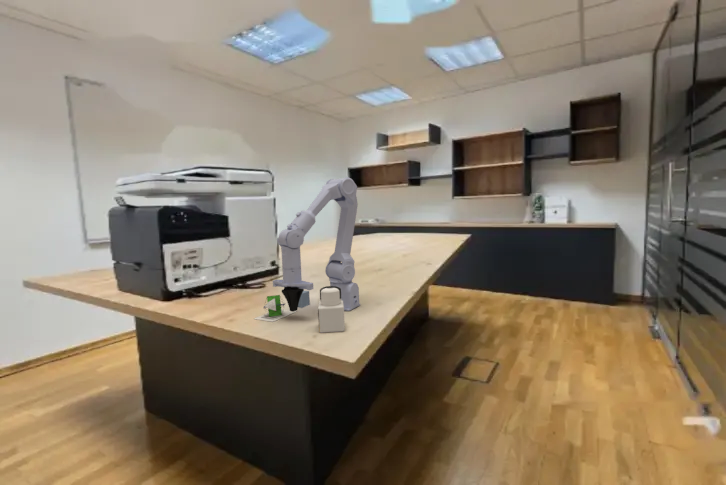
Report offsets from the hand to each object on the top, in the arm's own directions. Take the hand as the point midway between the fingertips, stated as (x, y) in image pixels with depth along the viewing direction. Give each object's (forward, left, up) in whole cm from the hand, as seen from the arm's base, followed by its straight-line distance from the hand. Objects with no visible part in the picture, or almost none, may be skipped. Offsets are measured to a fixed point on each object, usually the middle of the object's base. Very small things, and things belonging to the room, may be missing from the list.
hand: (293, 310), depth 115 cm
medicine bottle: (-16, +3, -3) cm, 16 cm away
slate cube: (+7, -13, -3) cm, 15 cm away
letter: (+8, -1, -3) cm, 8 cm away
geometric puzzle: (+8, 0, -3) cm, 8 cm away
